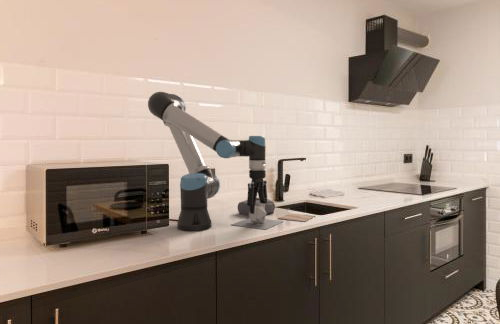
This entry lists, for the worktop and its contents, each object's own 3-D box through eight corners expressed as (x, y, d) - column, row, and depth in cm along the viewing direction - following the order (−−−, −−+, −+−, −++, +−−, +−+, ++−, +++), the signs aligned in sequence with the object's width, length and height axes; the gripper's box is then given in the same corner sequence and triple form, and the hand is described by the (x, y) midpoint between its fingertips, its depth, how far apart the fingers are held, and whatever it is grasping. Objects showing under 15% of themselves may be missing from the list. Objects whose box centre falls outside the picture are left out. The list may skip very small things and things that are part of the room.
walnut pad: (304, 222, 175) (304, 221, 175) (277, 218, 182) (277, 218, 182) (315, 216, 187) (315, 215, 187) (289, 213, 194) (289, 213, 194)
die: (260, 227, 167) (271, 208, 169) (244, 217, 168) (255, 199, 171) (260, 229, 175) (270, 211, 177) (244, 220, 176) (254, 202, 179)
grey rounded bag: (251, 218, 185) (281, 213, 197) (251, 201, 185) (281, 197, 197) (234, 213, 197) (263, 209, 209) (233, 197, 197) (263, 194, 209)
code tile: (265, 229, 161) (265, 229, 161) (230, 225, 170) (230, 224, 170) (283, 221, 176) (283, 221, 176) (250, 217, 185) (250, 217, 185)
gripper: (253, 171, 161) (253, 224, 162) (274, 168, 178) (274, 215, 180) (238, 170, 165) (239, 222, 166) (260, 167, 182) (261, 214, 184)
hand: (257, 218), depth 173 cm, fingers closed on die, 7 cm apart
